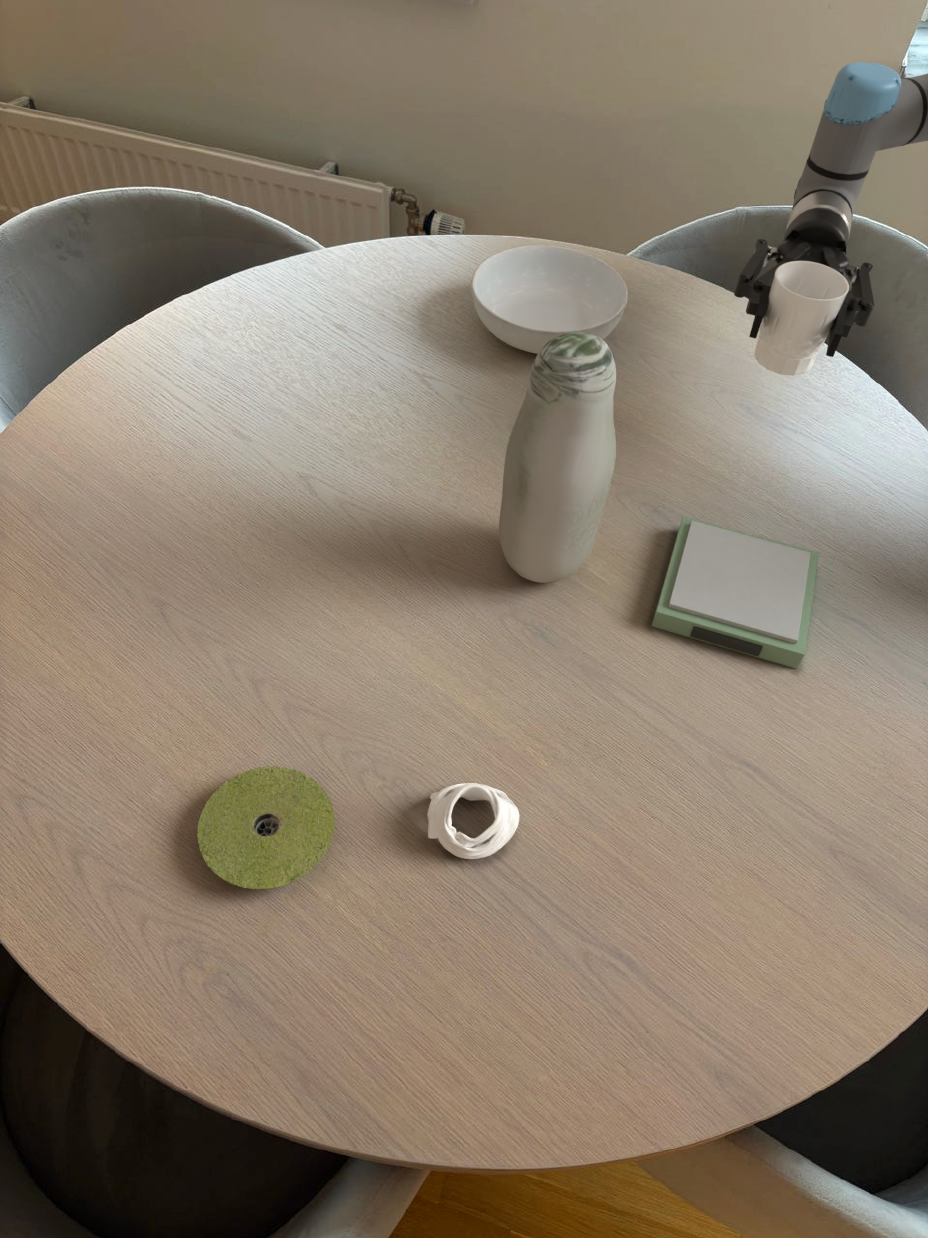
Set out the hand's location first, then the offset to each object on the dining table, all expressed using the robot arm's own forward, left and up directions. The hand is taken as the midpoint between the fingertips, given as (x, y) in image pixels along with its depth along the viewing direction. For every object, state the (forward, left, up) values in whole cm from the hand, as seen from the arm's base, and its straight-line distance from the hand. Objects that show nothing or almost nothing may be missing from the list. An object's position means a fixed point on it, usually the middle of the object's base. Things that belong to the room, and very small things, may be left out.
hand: (794, 335), depth 102 cm
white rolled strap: (+16, +58, -18) cm, 63 cm away
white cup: (0, -5, -6) cm, 8 cm away
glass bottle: (+19, +26, -18) cm, 37 cm away
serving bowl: (+31, -17, -18) cm, 39 cm away
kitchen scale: (-2, +23, -18) cm, 29 cm away
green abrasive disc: (+32, +65, -18) cm, 75 cm away
